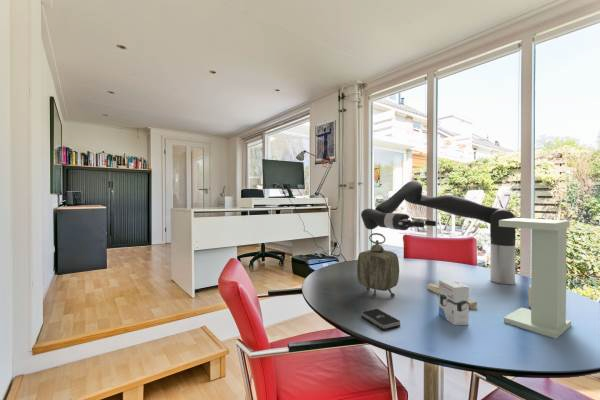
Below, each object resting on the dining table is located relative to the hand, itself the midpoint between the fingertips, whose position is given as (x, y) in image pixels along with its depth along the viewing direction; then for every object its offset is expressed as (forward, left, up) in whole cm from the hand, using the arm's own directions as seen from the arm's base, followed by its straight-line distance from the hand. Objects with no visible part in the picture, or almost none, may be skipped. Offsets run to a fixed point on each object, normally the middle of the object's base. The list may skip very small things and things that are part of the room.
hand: (429, 224), depth 116 cm
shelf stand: (0, +34, -28) cm, 44 cm away
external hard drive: (+39, +7, -29) cm, 49 cm away
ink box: (+18, +19, -28) cm, 39 cm away
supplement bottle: (-16, +31, -28) cm, 45 cm away
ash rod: (0, +9, -28) cm, 30 cm away
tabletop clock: (+22, -9, -28) cm, 37 cm away
